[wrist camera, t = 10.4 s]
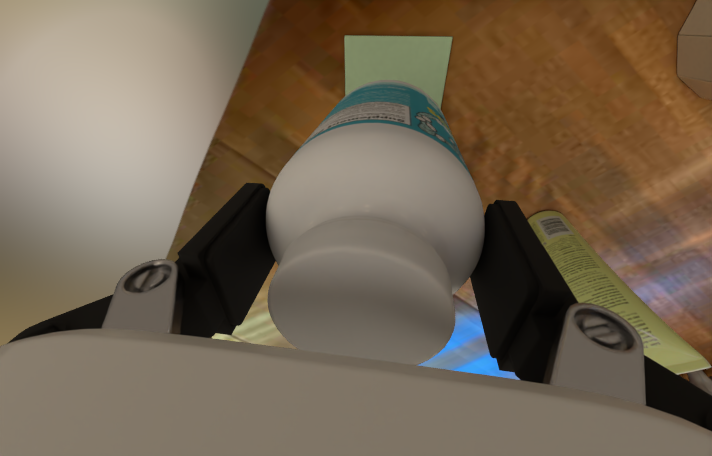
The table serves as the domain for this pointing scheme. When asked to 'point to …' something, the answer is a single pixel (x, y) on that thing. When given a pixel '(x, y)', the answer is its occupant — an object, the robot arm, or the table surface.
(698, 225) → the table surface
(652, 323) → the tube
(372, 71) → the mat
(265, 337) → the table surface
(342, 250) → the pill bottle
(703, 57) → the polygonal ring band
